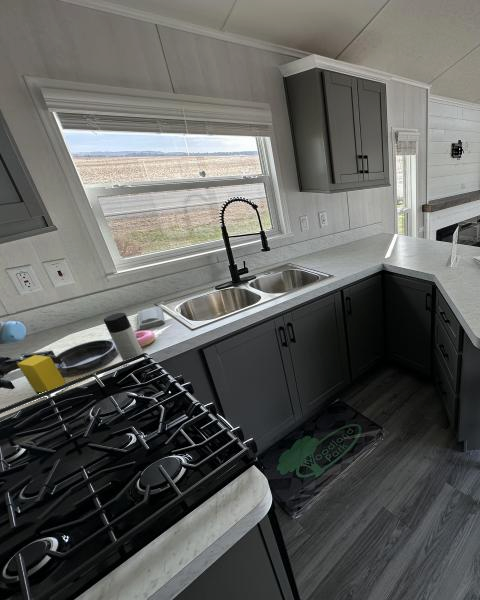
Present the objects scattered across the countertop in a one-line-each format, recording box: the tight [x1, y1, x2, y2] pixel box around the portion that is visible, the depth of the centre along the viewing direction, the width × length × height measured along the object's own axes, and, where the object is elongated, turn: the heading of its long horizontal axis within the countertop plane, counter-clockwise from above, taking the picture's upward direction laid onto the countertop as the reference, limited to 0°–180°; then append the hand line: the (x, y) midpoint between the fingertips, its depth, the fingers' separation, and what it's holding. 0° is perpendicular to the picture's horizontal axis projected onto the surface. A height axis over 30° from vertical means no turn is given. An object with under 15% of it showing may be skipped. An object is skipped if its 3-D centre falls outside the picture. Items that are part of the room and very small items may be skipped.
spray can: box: [103, 312, 144, 362], centre depth 124 cm, size 7×7×20 cm
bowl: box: [54, 339, 119, 377], centre depth 128 cm, size 19×19×4 cm
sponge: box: [17, 355, 67, 395], centre depth 111 cm, size 7×5×13 cm
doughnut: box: [134, 329, 156, 348], centre depth 139 cm, size 11×11×4 cm
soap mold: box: [137, 305, 166, 331], centre depth 160 cm, size 10×20×4 cm, turn 37°
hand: (36, 372), depth 111 cm, fingers open, 13 cm apart
